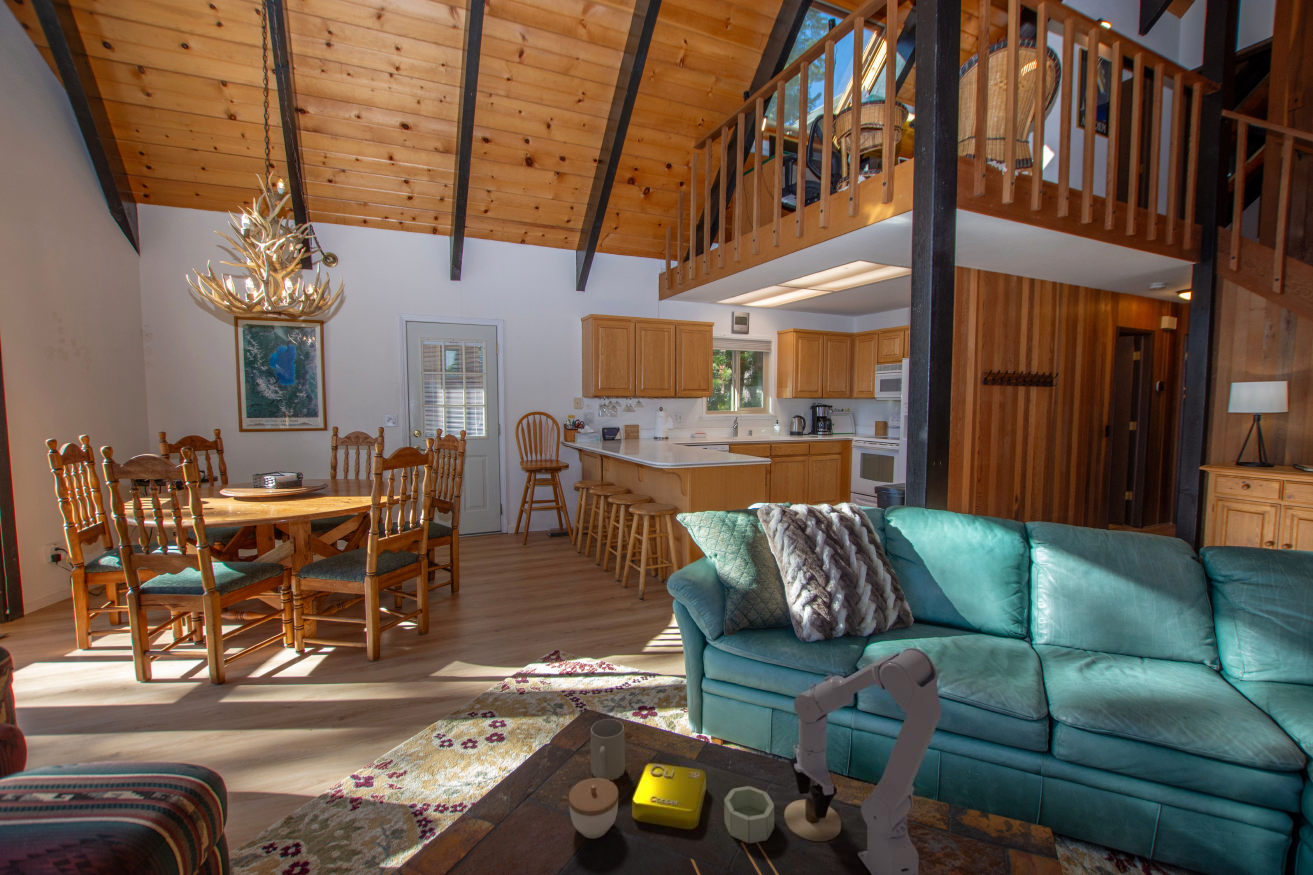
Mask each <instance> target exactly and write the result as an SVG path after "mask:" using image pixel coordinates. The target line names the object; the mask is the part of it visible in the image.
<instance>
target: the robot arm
mask: <svg viewBox="0 0 1313 875" xmlns="http://www.w3.org/2000/svg"><path fill="white" fill-rule="evenodd" d="M938 677H939V671H938V669H937V668H936V666H935V665H934V663H933V661H932V659H931V658H930V656H929V655H928V654H927V653H926V652H925V651H923V650H921V649H919V648H916V647H910V648H906V649H905V650H903V651H902V653H901V652H900V651H898V652H894V653H892V654H890V655H887V656H885V657H881V658H880V659H877V660H875V661H873V662H871V663H870V664H868V665H866V666H865V667H863V668H861V669H859V670H857V671H855V673H852V674H851V675H849V676H847V677H845V678H844V676H841V675H834V676H833V675H832V674H829V675H827V676H826V677H824V678H823V681H822V682H821V683H818V684H816V683H814V684H812V685H810V686H809V689H807V690H805V691H804V692H802V693H799V694H798V695H797V696H796V697H795V698H794V701H793V708H794V712H795V714H796V715H797V716H798V718H799V719H798V744H795V745H792V746H793V747H792V748H793V749H792V752H793V753H792V754H793V755H794V757H793V758H790V759H789V764H790V766H791V768H792V770H793V774H794V777H795V780H796V785H797V790H798V793H799V795H805V794H809V793H810V794H811V798H813V802H814V811H815V816H816V818H817V819H819V818H825V817H826V814H827V811H828V808H829V807H830V805H831V803H832V800H833V799H834V798H835V796H836V795H837V793H838V788H837V787H836V786H835V784H833V782H832V780H831V777H830V773H829V770H828V766H827V721H828V715H829V714H831V713H833V712H834V711H835V712H836V711H837V710H839V709H841V708H842V707H843V708H844V707H845V706H848V705H849V704H852V702H853V700H854V694H856V693H859V692H860V691H863V690H865V689H867V688H869V687H872V686H874V685H877V687H878V689H880V690H882V691H884V690H886V691H887V693H888V694H889V695H890V696H891V697H892V698H893V699H894V701H895V702H896V703H897V704H898V706H899V707H900V708H901V709H902V711H903V712H904V713H906V715H905V718H904V721H903V722H902V726H901V729H900V731H899V733H898V736H897V738H896V741H895V744H894V745H893V747H892V748H893V749H892V751H891V754H890V755H889V759H888V760H887V761H888V762H887V764H886V766H885V768H884V771H883V774H882V776H881V778H880V780H879V781H878V783H877V784H876V786H875V787H874V788H873V789H872V792H871V793H870V796H869V797H867V798H865V799H864V800H863V801H862V802H861V805H860V811H861V816H862V818H863V820H864V822H865V824H866V826H867V832H866V834H867V835H866V836H867V837H866V838H867V840H866V841H867V842H866V843H867V844H866V845H867V850H863V851H859V852H857V856H858V857H859V859H860V861H862V863H863V864H864V866H865V868H867V870H868V872H869V873H870V874H871V875H919V866H920V865H919V864H920V862H919V859H920V858H919V852H918V850H917V849H916V847H915V846H914V844H913V843H912V841H911V839H910V835H909V832H908V814H909V813H911V811H912V810H913V807H914V799H913V795H914V791H915V787H914V785H913V783H914V781H915V779H916V776H917V774H918V771H919V769H920V767H921V764H922V762H923V760H924V757H925V755H926V752H927V750H928V747H929V746H930V742H931V739H932V738H933V736H934V732H935V731H936V729H937V726H938V724H939V720H940V719H941V716H942V708H941V702H940V696H939V695H940V694H939V691H938V689H939V688H938ZM812 780H813V781H814V782H815V783H816V784H817V785H811V781H812Z"/></svg>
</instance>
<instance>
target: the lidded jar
mask: <svg viewBox="0 0 1313 875" xmlns="http://www.w3.org/2000/svg"><path fill="white" fill-rule="evenodd" d="M568 803H569V813H570V818H571V823H572V824H573V826H574V827H575V829H576V830H577V831H578V832H579V833H580V834H581V835H582V836H583V837H585V838H588V839H598V838H601V837H603V836H604V835H606V833H607V832H608V831H609V830H610V829H611V827H612V826H613V824H614V823H615V821H616V818H617V814H618V808H619V788H618V786H617V785H616V784H615V783H614V782H613V781H612V780H611V781H609V780H607V779H604V778H595V777H591V778H586V779H584V780H581V781H578V782H577V784H575V785H573V787H572V788H571V789H570V791H569V794H568Z"/></svg>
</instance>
